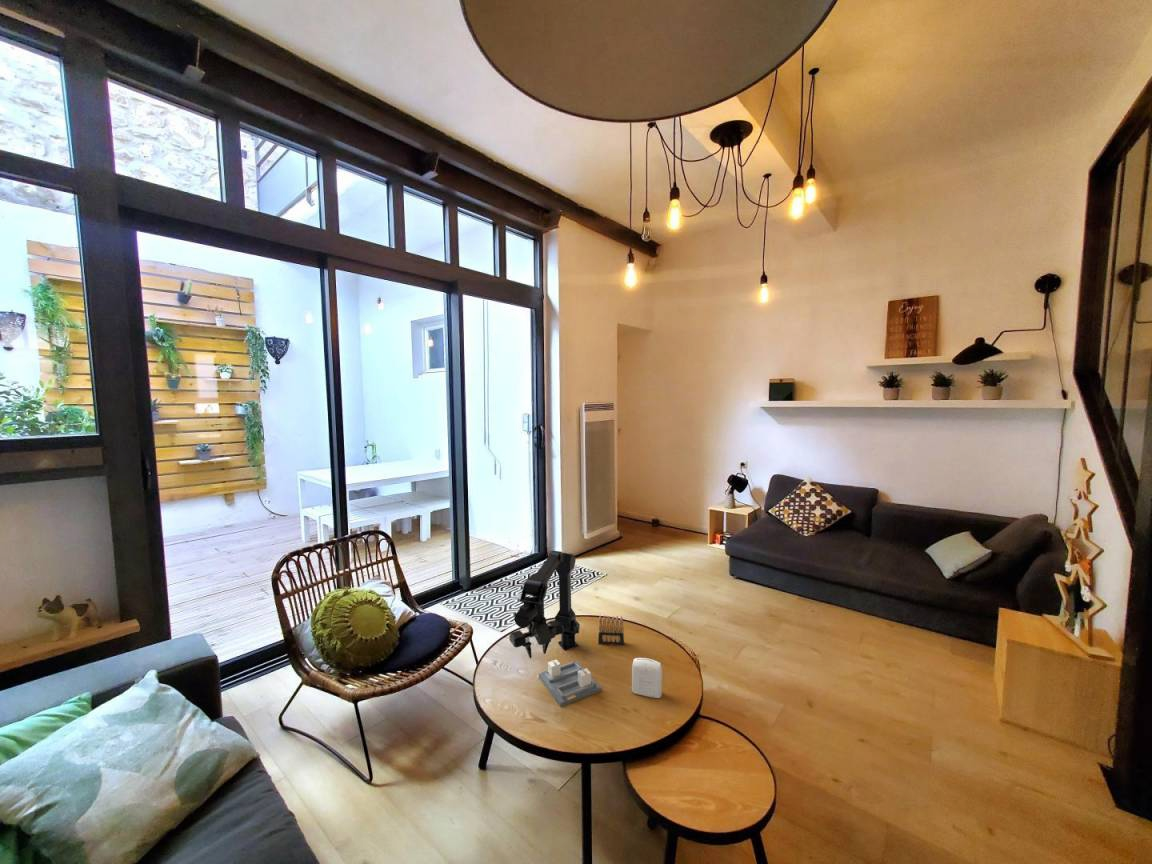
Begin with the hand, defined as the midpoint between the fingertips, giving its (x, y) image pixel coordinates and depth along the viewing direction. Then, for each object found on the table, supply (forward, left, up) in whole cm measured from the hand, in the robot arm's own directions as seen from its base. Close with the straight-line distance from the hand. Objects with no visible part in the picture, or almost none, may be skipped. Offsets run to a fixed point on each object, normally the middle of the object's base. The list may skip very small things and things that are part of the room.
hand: (537, 655), depth 158 cm
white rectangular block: (0, +7, -10) cm, 12 cm away
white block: (+10, +13, -10) cm, 19 cm away
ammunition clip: (-9, +37, -11) cm, 40 cm away
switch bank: (+5, +10, -11) cm, 16 cm away
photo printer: (+23, +31, -11) cm, 40 cm away
